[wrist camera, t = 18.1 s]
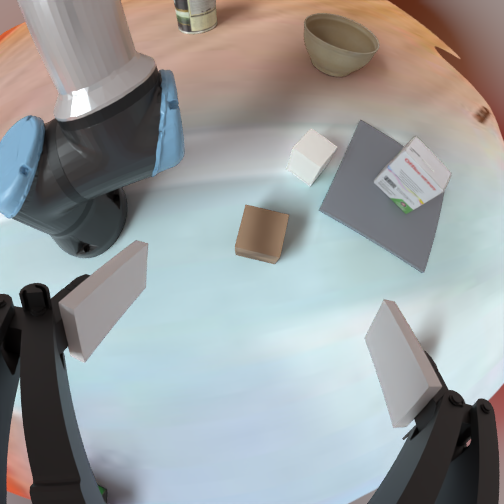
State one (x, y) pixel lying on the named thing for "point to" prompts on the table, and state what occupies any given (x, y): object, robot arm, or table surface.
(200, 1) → the coffee can
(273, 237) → the walnut block
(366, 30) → the planter bowl
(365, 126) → the slate plate
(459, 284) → the table surface
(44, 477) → the robot arm
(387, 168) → the ink box
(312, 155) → the off-white block
